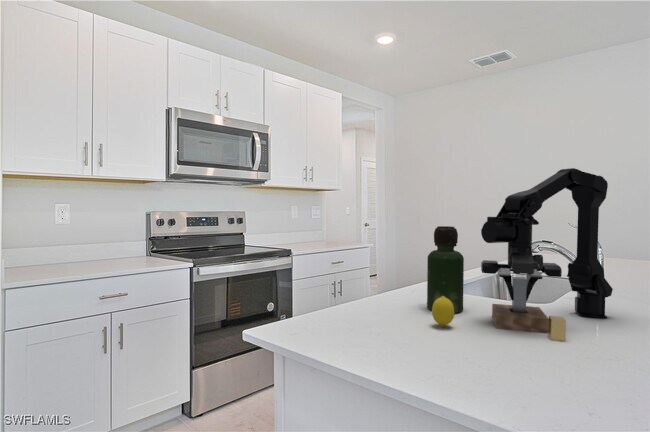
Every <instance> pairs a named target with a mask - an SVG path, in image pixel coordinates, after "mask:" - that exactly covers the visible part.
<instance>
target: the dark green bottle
mask: <svg viewBox="0 0 650 432" xmlns="http://www.w3.org/2000/svg"><path fill="white" fill-rule="evenodd" d="M458 236H459V233H458V230H457V228H455V226H450V225H449V226H448V225H447V226H443V225H441V226H436V228H435V229H434V232H433V243H434V246H436V248H437V249H435V250H432V251H431V252H430V253H428V255H427V263H426V264H427V267H426V268H427V269H426V270H427V271H426V273H427V274H426V275H427V277H426V278H427V280H426V281H427V282H426V283H427V284H426V287H427V288H426V290H427V291H426V298H427V299H426V308H427V309H428V310H430V311H432V307H433V304H434V302H435V300H437V299H438V298H441V297H442V296H445V298H447V299H449V300H450V301H451V302H452V304H453V307H454V314H457V313H461V312H462V311H463V310H464V281H465V279H464V278H465V277H464V273H465V272H464V271H465V270H464V269H465V268H464V266H465V261H464V260H465V258H464V256H463V254H462V253H461V252H460V251H458V250H454V248H455V247H457V245H458V242H459V241H458V238H459V237H458Z"/></svg>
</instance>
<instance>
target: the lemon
mask: <svg viewBox="0 0 650 432" xmlns="http://www.w3.org/2000/svg"><path fill="white" fill-rule="evenodd" d="M431 314H432V315H431V316H432V317H433V320H434V321H435V323H436V324H438V325H440V326H441V327H442V328H445V326H447V325H449V324H451V323H452V322H453V320H454V318H455V313H454V307H453V304H452V302H451V301H450V300H449V299H447V298H445V296H442V297H441V298H438V299H437V300H435V302H434V304H433V307H432V310H431Z"/></svg>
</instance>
